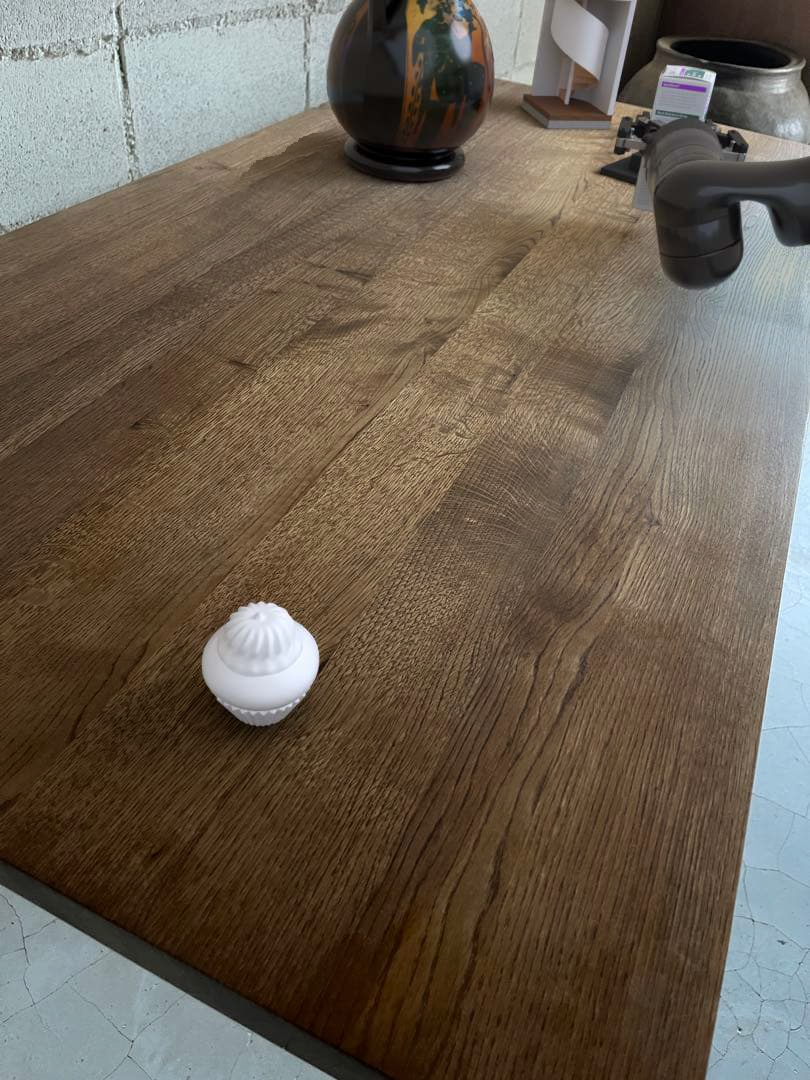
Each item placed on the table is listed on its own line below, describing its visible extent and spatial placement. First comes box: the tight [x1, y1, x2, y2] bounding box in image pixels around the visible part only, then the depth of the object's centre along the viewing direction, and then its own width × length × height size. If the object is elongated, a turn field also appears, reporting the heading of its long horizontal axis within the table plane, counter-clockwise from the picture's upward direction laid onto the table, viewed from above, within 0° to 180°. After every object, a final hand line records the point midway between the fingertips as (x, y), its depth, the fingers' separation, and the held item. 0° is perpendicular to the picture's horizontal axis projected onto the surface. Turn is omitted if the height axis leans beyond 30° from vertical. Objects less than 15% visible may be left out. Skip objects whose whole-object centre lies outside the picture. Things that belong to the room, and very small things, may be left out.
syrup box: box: [631, 64, 717, 214], centre depth 104 cm, size 6×6×14 cm
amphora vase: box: [325, 0, 496, 183], centre depth 115 cm, size 22×22×28 cm
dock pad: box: [599, 150, 642, 185], centre depth 128 cm, size 16×16×3 cm
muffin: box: [201, 600, 320, 727], centre depth 48 cm, size 6×6×7 cm
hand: (674, 124), depth 105 cm, fingers closed on syrup box, 6 cm apart
